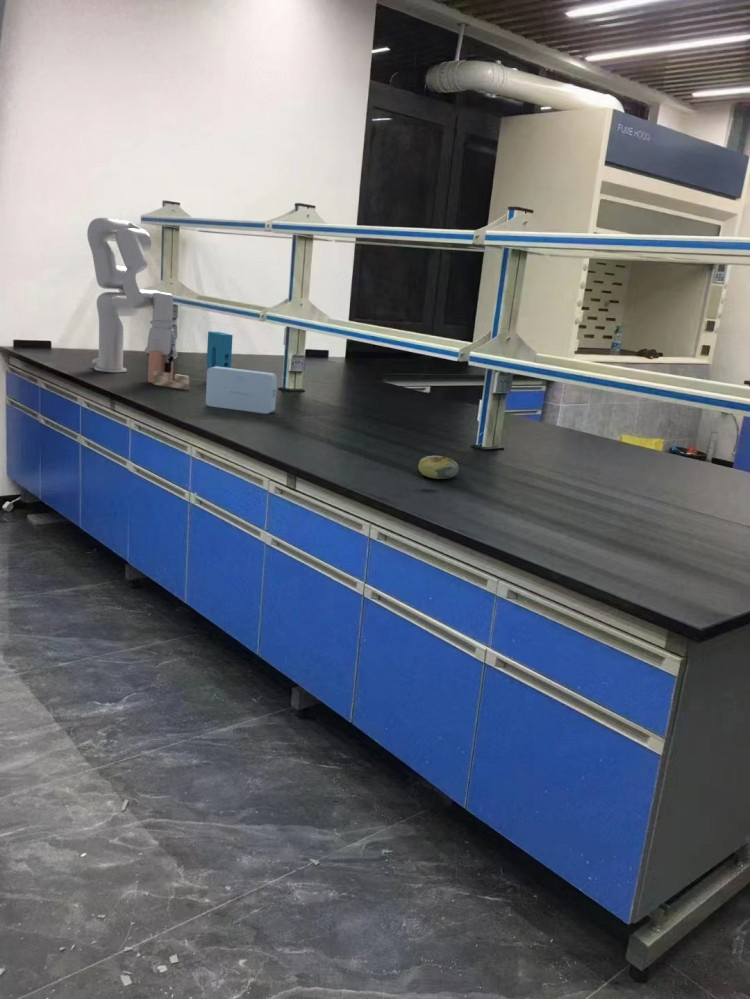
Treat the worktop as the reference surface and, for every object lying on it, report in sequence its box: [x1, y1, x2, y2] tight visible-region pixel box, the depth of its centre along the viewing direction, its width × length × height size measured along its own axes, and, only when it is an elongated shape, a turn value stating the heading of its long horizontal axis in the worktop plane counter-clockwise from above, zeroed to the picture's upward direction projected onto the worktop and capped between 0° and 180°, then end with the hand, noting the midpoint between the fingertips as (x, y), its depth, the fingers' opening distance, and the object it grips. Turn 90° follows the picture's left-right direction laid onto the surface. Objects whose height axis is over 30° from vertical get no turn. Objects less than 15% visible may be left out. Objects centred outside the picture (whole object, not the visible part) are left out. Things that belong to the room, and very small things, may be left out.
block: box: [206, 330, 233, 371], centre depth 344 cm, size 12×5×20 cm, turn 41°
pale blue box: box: [205, 366, 278, 415], centre depth 290 cm, size 23×6×13 cm, turn 79°
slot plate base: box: [152, 371, 190, 391], centre depth 324 cm, size 15×2×5 cm, turn 68°
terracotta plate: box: [147, 351, 174, 384], centre depth 334 cm, size 3×12×12 cm, turn 158°
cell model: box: [417, 455, 459, 480], centre depth 222 cm, size 10×8×14 cm
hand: (160, 371), depth 335 cm, fingers open, 5 cm apart
